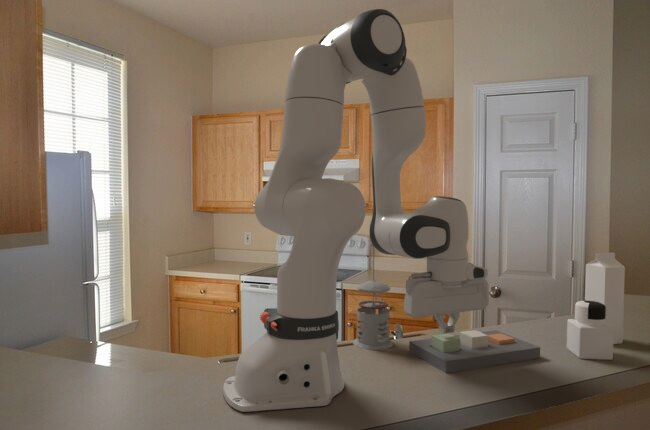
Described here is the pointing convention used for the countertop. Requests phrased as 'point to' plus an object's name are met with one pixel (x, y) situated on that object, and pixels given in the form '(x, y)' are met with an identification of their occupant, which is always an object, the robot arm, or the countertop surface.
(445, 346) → the sage button
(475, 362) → the button panel
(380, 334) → the french press
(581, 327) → the medicine bottle
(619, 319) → the milk
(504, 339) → the terracotta button
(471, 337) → the cream button
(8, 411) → the countertop surface
